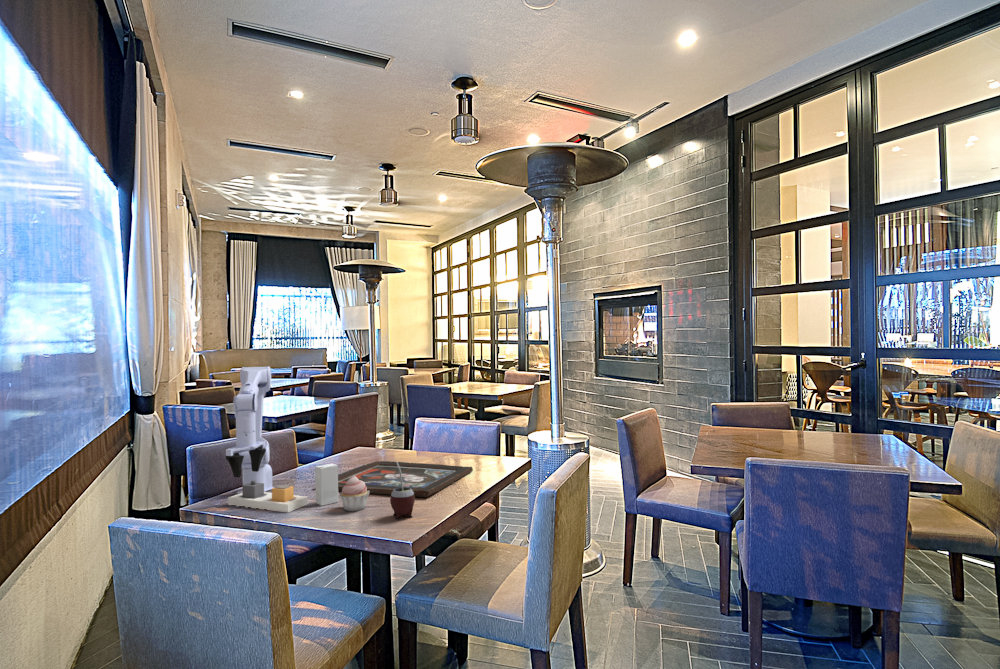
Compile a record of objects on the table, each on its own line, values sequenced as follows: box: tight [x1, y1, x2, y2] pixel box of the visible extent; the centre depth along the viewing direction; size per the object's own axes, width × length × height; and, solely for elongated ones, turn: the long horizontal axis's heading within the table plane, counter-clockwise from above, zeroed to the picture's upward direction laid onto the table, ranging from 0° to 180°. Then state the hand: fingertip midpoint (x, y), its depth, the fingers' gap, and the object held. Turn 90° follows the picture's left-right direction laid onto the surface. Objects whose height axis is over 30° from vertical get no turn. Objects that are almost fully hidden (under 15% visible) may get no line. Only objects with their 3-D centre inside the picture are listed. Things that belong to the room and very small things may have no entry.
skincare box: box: [314, 462, 339, 506], centre depth 183 cm, size 6×4×12 cm
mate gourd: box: [389, 461, 416, 521], centre depth 168 cm, size 8×8×15 cm
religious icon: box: [338, 460, 474, 498], centre depth 211 cm, size 40×45×3 cm
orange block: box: [271, 484, 295, 502], centre depth 180 cm, size 4×5×6 cm
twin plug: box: [241, 481, 264, 499], centre depth 184 cm, size 4×5×7 cm
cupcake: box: [338, 476, 370, 512], centre depth 176 cm, size 9×9×10 cm
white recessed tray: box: [227, 491, 309, 513], centre depth 182 cm, size 9×24×3 cm, turn 69°
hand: (246, 474), depth 182 cm, fingers open, 7 cm apart
